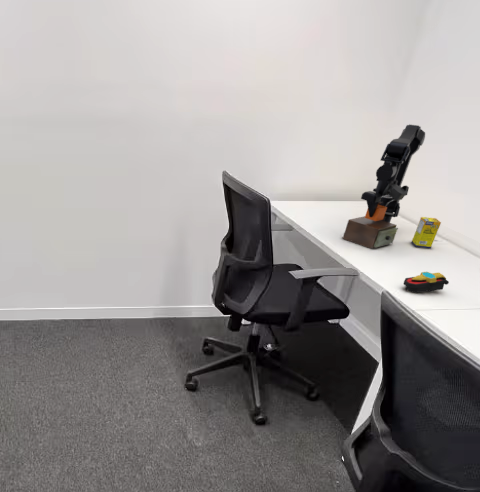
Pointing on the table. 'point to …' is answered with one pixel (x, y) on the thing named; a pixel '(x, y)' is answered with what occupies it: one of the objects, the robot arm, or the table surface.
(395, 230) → the drawer
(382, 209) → the orange cube
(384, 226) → the cabinet
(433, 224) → the supplement box
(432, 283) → the gadget
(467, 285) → the table surface
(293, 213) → the table surface
